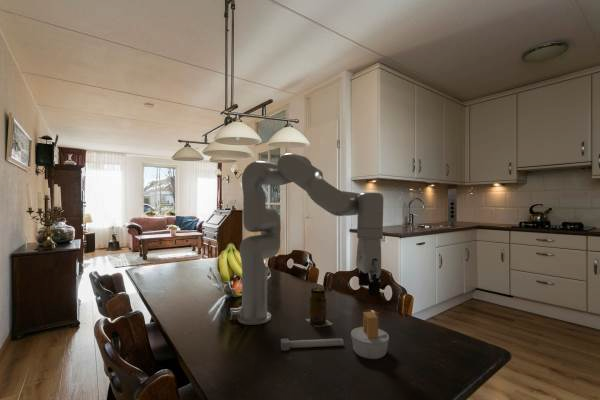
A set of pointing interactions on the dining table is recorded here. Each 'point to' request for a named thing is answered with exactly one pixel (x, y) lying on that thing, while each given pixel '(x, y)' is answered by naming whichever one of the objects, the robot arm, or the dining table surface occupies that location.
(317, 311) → the condiment
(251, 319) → the robot arm
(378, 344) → the ramekin
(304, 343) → the long grey bar
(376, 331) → the tan wooden block
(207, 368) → the dining table surface
